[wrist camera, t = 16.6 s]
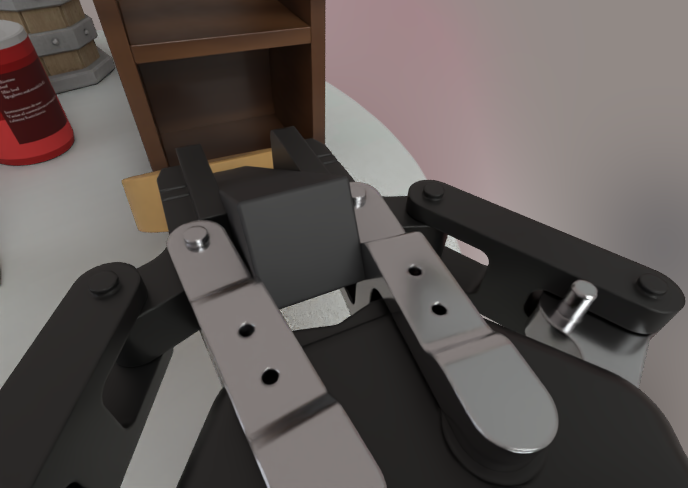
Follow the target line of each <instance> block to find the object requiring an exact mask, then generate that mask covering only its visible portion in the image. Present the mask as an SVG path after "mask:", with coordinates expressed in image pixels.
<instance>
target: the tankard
mask: <svg viewBox="0 0 688 488" xmlns="http://www.w3.org/2000/svg"><path fill="white" fill-rule="evenodd" d="M0 20H7V21H12V22H16V23H19V24H21V25H22V26H23V27H24V30H25V31H26V33H27V34H28V36H29V38H30V40H31V42H32V44H33V46H34V48H35V50H36V52H37V55H38V57H39V59H40V61H41V63H42V65H43V67H44V70H45V72H46V74H47V76H48V78H49V80H50V82H51V85H52V87H53V89H54V91H55V93H56V94H58V93H62V92H66V91H70V90H74V89H78V88H82V87H86V86H90V85H94V84H97V83H98V82H99V81H101V80H102V79H103V78H104V77H105V76H106V75H107V74H109V73H110V72H111V71H112V70H113V69H114V68H115V65H114V62H113V60H112V57H110V56H109V55H108V54H106V53H105V52H104V51H102V50H101V49H100V48H98V47H97V46H96V44H95V42H94V39H95V38H96V37H97V36H98V35H97V32H96V29H95V27H94V24H93V21H92V18H90V17H89V16H87V15H86V14H84V12H83V9H82V7H81V4H80V1H79V0H0Z"/></svg>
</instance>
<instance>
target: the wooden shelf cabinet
mask: <svg viewBox="0 0 688 488" xmlns="http://www.w3.org/2000/svg"><path fill="white" fill-rule="evenodd" d="M93 2H94V5H95V8H96V11H97V14H98V17H99V19H100V22H101V25H102V28H103V31H104V34H105V37H106V39H107V42H108V45H109V48H110V51H111V54H112V56H113V59H114V62H115V65H116V68H117V71H118V74H119V76H120V79H121V82H122V85H123V88H124V91H125V93H126V96H127V99H128V102H129V105H130V108H131V111H132V113H133V116H134V119H135V122H136V125H137V128H138V130H139V133H140V136H141V139H142V142H143V145H144V148H145V150H146V153H147V156H148V159H149V162H150V165H151V168H152V170H153V172H155V171H159V170H161V169H162V168H167V167H172V166H177V165H180V163H179V159H178V156H177V152H176V149H175V148H179V147H184V146H189V145H195V144H201V146H202V148H203V151H204V153H205V155H206V158H207V160H211V159H216V158H221V157H226V156H231V155H236V154H242V153H247V152H252V151H257V150H263V149H268V148H271V141H270V131H271V130H274V129H279V128H284V127H290V126H294V127H295V128H296V129H297V130H298V132H299V133H300V134H301V135H302V137H303V138H304V139H309V138H313V139H315V140H317V141H319V142H321V143H323V144H325V0H93Z"/></svg>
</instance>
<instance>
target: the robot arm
mask: <svg viewBox="0 0 688 488" xmlns="http://www.w3.org/2000/svg"><path fill="white" fill-rule="evenodd" d="M270 141H271V150H272V160H273V169H282V170H292V171H302V172H311V173H321V174H331V175H341V176H347V177H348V179H349V183H350V188H351V194H352V199H353V205H354V210H355V216H356V221H357V226H358V232H359V237H360V246H361V253H362V261H363V268H364V275H365V280H364V281H361V282H358V283H355V284H352V285H349V286H346V287H343V288H340V291H341V293H342V296H343V298H344V300H345V303H346V305H347V307H348V309H349V312H350V315H351V316H350V317H348V318H347V319H345V320H344V321H342V322H341V323H339V324H337V325H333V326H325V327H318V328H310V329H303V330H295V331H291V329H290V327H289V326H288V324H287V322H286V321H285V319H284V317H283V316H282V314H281V312H280V310H279V309H278V307H277V305H276V304H275V302H274V300H273V299H272V297H271V295H270V294H269V292H268V290H267V289H266V287H265V285H264V284H263V282H262V281H261V279H260V278H259V277H258V276H257V275H256V276H253V277H252V276H251V274H250V272H249V271H248V269H247V267H246V265H245V264H244V262H243V260H242V259H241V257H240V255H239V253H238V252H237V250H236V248H235V247H234V243H233V238H232V234H231V229H230V225H229V220H228V216H227V212H226V210H225V207H224V205H223V202H222V200H221V197H220V195H219V190H220V189H219V187H218V184H217V182H216V179H215V177H214V175H213V172H212V170H211V167H210V165H209V163H208V160H207V158H206V155H205V153H204V151H203V148H202V146H201V144H195V145H189V146H184V147H179V148H175V149H176V152H177V156H178V159H179V163H180V165H177V166H172V167H167V168H162V169H161V171H160V173H159V175H158V178H157V185H158V189H159V192H160V197H161V201H162V205H163V210H164V214H165V218H166V222H167V226H168V231H169V237H168V239H167V247H166V249H165V250H164V251H163V252H162V253H161V254H160V255H159V256H158V257H156V258H155V259H154V260H152V261H150V262H149V263H147V264H145V265H143V266H141V267H139V268H137V269H136V268H135V267H134V266H132V265H130V264H127V263H122V262H113V263H107V264H103V265H100V266H97V267H95V268H92V269H90V270H89V271H87V272H85V273H84V274H83V275H81V276H80V277H79V278H78V279H77V280H76V281H75V283H74V284H73V285H72V287H71V288H70V290H69V291H68V293H67V294H66V295H65V297H64V298H63V300H62V301H61V303H60V304H59V306H58V307H57V308H56V310H55V311H54V313H53V314H52V316H51V317H50V319H49V320H48V321H47V323H46V324H45V326H44V327H43V329H42V330H41V332H40V333H39V335H38V336H37V337H36V339H35V340H34V342H33V343H32V345H31V346H30V348H29V349H28V350H27V352H26V353H25V355H24V356H23V358H22V359H21V361H20V362H19V363H18V365H17V366H16V368H15V369H14V371H13V372H12V374H11V375H10V376H9V378H8V379H7V381H6V382H5V384H4V385H3V387H2V388H1V389H0V488H120V486H121V484H122V481H123V478H124V476H125V473H126V471H127V468H128V466H129V463H130V461H131V458H132V456H133V453H134V451H135V448H136V446H137V443H138V440H139V438H140V435H141V433H142V430H143V428H144V425H145V423H146V420H147V418H148V415H149V413H150V410H151V408H152V405H153V402H154V400H155V397H156V395H157V392H158V390H159V387H160V385H161V382H162V380H163V377H164V375H165V372H166V369H167V367H168V364H169V362H170V359H171V357H172V354H173V348H174V346H176V345H177V344H179V343H180V342H182V341H183V340H185V339H186V338H188V337H189V336H191V335H192V334H194V333H195V332H197V331H200V334H201V336H202V339H203V341H204V343H205V346H206V348H207V351H208V353H209V356H210V358H211V361H212V363H213V365H214V368H215V370H216V373H217V375H218V378H219V380H220V383H221V385H222V389H221V390H220V392H219V394H218V395H217V397H216V399H215V400H214V402H213V405H212V407H211V409H210V411H209V413H208V416H207V418H206V420H205V423H204V425H203V427H202V430H201V432H200V434H199V436H198V439H197V441H196V443H195V446H194V448H193V450H192V453H191V455H190V457H189V459H188V462H187V464H186V466H185V469H184V471H183V473H182V476H181V478H180V480H179V482H178V485H177V487H176V488H688V458H687V456H686V454H685V453H684V451H683V449H682V447H681V445H680V443H679V440H678V438H677V436H676V434H675V433H674V430H673V428H672V426H671V425H670V423H669V421H668V420H667V419H666V417H665V415H664V414H663V413H662V411H661V410H660V409H659V408H658V407H657V405H656V404H655V403H654V402H653V401H652V400H651V399H650V398H649V397H648V396H647V395H646V394H645V393H643V392H642V391H641V390H640V389H639V386H640V381H641V377H642V372H643V368H644V363H645V359H646V355H647V350H648V346H649V341H650V340H651V339H652V337H654V336H655V335H656V334H657V333H658V332H659V331H660V330H661V329H662V328H663V327H664V326H665V325H666V324H667V323H668V322H669V321H670V320H671V319H672V318H673V317H674V316H675V315H676V314H677V313H678V312H679V311H680V310H681V309H682V308H683V307H684V305H685V297H684V294H683V292H682V290H681V289H680V288H679V287H678V285H677V284H676V283H674V282H673V281H672V280H671V279H670V278H668V277H667V276H665V275H664V274H662V273H660V272H658V271H656V270H653V269H651V268H649V267H646V266H644V265H641V264H639V263H637V262H634V261H631V260H629V259H627V258H625V257H622V256H620V255H617V254H615V253H612V252H610V251H608V250H605V249H603V248H600V247H598V246H596V245H593V244H591V243H588V242H586V241H583V240H581V239H579V238H576V237H574V236H571V235H569V234H567V233H564V232H562V231H559V230H557V229H554V228H552V227H550V226H547V225H545V224H542V223H539V222H537V221H535V220H533V219H530V218H528V217H525V216H523V215H520V214H518V213H516V212H513V211H511V210H508V209H506V208H503V207H501V206H499V205H496V204H494V203H491V202H489V201H487V200H484V199H482V198H479V197H477V196H474V195H472V194H470V193H467V192H465V191H462V190H460V189H457V188H455V187H453V186H450V185H448V184H445V183H443V182H439V181H435V180H422V181H418V182H415V183H414V184H412V185H411V186H410V188H409V191H408V196H395V197H384V196H381V195H380V193H379V192H378V191H377V190H376V189H375V188H374V187H372V186H371V185H368V184H365V183H361V182H355V181H354V180H353V178H352V177H351V176H350V175H349V173H348V172H347V171H346V170H345V169H344V167H343V166H342V165H341V164H340V163H339V162H338V161H337V159H336V158H335V156H334V155H332V153H331V152H330V150H329V149H328V148H327V147H326V146H325V144H323V143H321V142H319V141H317V140H315V139H313V138H309V139H304V138H303V137H302V135H301V134H300V133H299V132H298V130H297V129H296V128H295V127H294V126H290V127H284V128H279V129H274V130H271V131H270ZM448 235H450V236H452V237H454V238H456V239H458V240H460V241H463V242H465V243H467V244H469V245H471V246H473V247H475V248H477V249H480V250H481V251H483V252H484V253H485V254H486V255H487V257H488V259H489V265H488V266H486V265H483V264H480V263H479V262H477V261H475V260H472V259H470V258H468V257H466V256H464V255H462V254H460V253H458V252H456V251H454V250H452V249H450V248H448V247H446V246H445V243H446V239H447V236H448ZM480 314H482V315H484V316H486V317H487V318H489V319H491V320H493V321H495V322H497V323H498V324H496V323H494V322H492V321H489V320H487V319H485V318H482V316H481V315H480ZM499 324H500V325H499ZM501 325H502V326H501Z"/></svg>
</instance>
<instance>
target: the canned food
mask: <svg viewBox="0 0 688 488" xmlns="http://www.w3.org/2000/svg"><path fill="white" fill-rule="evenodd" d="M73 142H74V135H73V129H72V127H71V125H70V123H69V121H68V119H67V117H66V114H65V112H64V110H63V108H62V106H61V104H60V102H59V100H58V97H57V95H56V93H55V91H54V89H53V87H52V85H51V82H50V80H49V78H48V76H47V74H46V72H45V70H44V67H43V65H42V63H41V61H40V59H39V57H38V55H37V52H36V50H35V48H34V46H33V44H32V42H31V40H30V38H29V36H28V34H27V33H26V31H25V30H24V27H23V26H22V25H21V24H19V23H16V22H12V21H7V20H0V163H1V164H5V165H14V166H20V165H31V164H36V163H41V162H44V161H48V160H50V159H53V158H55V157H57V156H60V155H61V154H63V153H64V152H66V151H67V150H68V149H69V148H70V147H71V146H72V145H73Z"/></svg>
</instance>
